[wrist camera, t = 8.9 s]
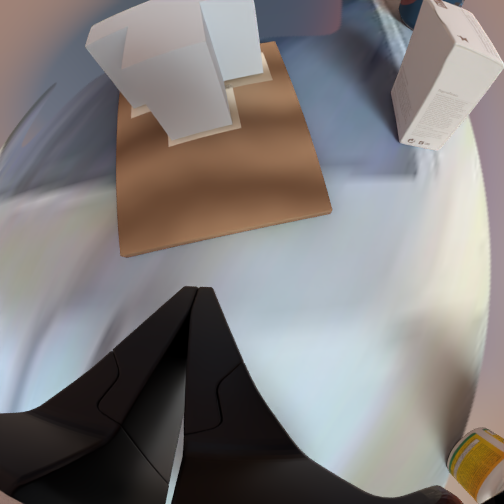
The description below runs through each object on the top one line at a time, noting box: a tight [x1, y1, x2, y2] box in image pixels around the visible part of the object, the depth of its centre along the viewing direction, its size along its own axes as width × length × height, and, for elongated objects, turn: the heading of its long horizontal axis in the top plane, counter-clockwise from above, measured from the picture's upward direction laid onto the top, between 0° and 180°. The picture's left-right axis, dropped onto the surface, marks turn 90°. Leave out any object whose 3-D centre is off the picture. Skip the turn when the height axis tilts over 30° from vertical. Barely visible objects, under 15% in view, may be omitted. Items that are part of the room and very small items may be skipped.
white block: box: [85, 0, 263, 140], centre depth 18 cm, size 8×12×9 cm, turn 101°
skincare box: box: [391, 0, 504, 151], centre depth 15 cm, size 6×4×12 cm
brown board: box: [116, 41, 332, 258], centre depth 22 cm, size 18×16×1 cm
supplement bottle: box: [447, 428, 504, 504], centre depth 11 cm, size 5×5×10 cm
